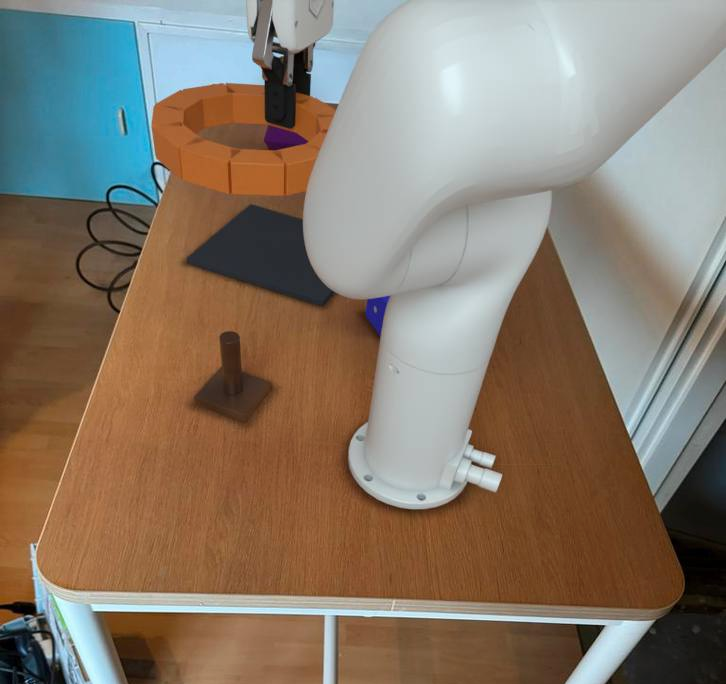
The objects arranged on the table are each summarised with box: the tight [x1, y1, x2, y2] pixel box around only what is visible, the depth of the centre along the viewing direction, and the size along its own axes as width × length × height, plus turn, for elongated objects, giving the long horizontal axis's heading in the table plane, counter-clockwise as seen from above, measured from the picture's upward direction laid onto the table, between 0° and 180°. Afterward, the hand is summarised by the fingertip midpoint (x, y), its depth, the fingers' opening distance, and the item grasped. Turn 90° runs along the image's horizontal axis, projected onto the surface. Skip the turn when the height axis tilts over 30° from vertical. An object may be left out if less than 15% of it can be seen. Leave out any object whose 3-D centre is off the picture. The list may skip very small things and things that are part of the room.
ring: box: [150, 82, 336, 197], centre depth 61 cm, size 18×18×3 cm
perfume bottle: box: [263, 55, 309, 151], centre depth 104 cm, size 8×8×18 cm
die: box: [364, 296, 390, 337], centre depth 80 cm, size 5×5×5 cm
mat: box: [185, 203, 335, 307], centre depth 89 cm, size 20×18×1 cm
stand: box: [193, 330, 272, 424], centre depth 67 cm, size 6×6×8 cm
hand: (287, 117), depth 67 cm, fingers closed on ring, 2 cm apart
